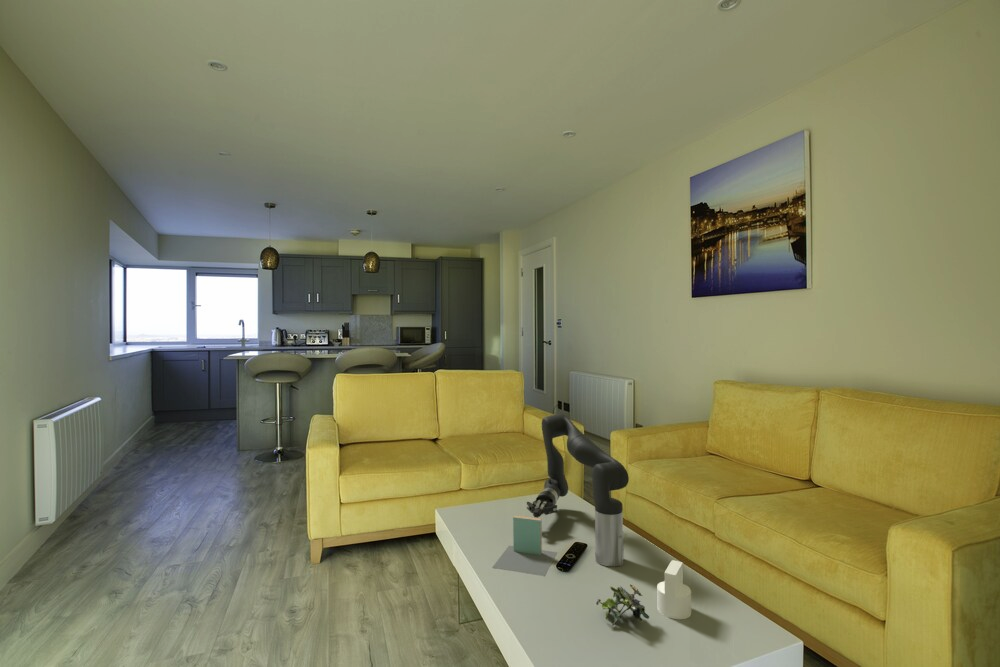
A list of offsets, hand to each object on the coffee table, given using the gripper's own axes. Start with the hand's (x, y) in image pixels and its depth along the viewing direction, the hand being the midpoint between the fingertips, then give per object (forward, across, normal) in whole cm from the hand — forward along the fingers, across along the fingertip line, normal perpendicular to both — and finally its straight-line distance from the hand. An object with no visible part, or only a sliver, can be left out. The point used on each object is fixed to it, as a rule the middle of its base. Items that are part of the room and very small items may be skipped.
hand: (536, 514), depth 189 cm
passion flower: (+44, +36, +9) cm, 58 cm away
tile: (+12, 0, +9) cm, 15 cm away
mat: (+18, +1, +9) cm, 20 cm away
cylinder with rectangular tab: (+34, +49, +9) cm, 61 cm away
